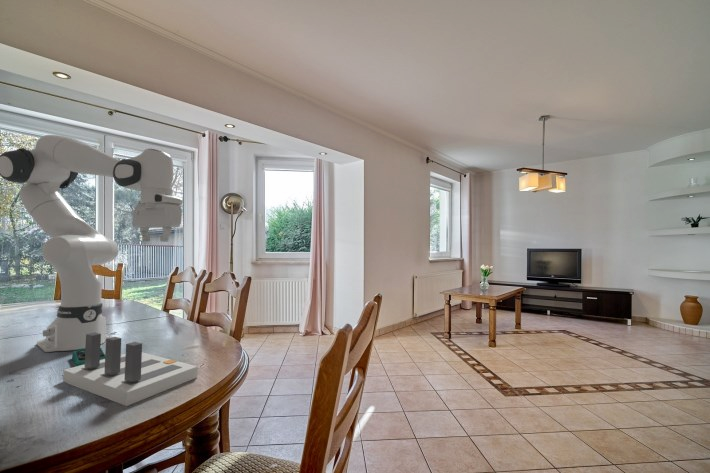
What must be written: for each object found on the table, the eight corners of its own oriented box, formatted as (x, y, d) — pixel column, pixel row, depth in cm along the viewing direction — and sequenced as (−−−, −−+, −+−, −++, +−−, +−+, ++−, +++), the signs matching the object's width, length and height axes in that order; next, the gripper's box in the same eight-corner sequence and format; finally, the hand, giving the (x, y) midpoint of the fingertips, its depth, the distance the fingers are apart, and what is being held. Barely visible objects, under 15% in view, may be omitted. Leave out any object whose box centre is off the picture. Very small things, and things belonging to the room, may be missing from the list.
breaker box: (62, 381, 84) (63, 369, 84) (135, 360, 100) (135, 350, 100) (126, 406, 71) (127, 391, 72) (197, 377, 88) (197, 365, 88)
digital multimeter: (101, 354, 106) (101, 345, 106) (108, 366, 96) (108, 356, 96) (71, 359, 101) (72, 350, 101) (75, 372, 91) (76, 362, 91)
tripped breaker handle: (104, 372, 81) (106, 338, 82) (113, 370, 83) (114, 336, 83) (111, 375, 80) (112, 340, 80) (120, 372, 82) (121, 338, 82)
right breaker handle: (124, 380, 77) (126, 343, 77) (133, 377, 79) (134, 341, 79) (131, 382, 76) (133, 345, 76) (140, 379, 78) (142, 343, 78)
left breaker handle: (84, 367, 85) (86, 334, 85) (93, 364, 87) (94, 332, 87) (90, 368, 84) (92, 335, 84) (99, 366, 85) (100, 333, 86)
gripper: (127, 199, 107) (125, 241, 106) (167, 196, 98) (165, 241, 97) (146, 202, 112) (145, 241, 112) (186, 199, 103) (184, 242, 103)
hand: (154, 241), depth 104 cm, fingers open, 8 cm apart
